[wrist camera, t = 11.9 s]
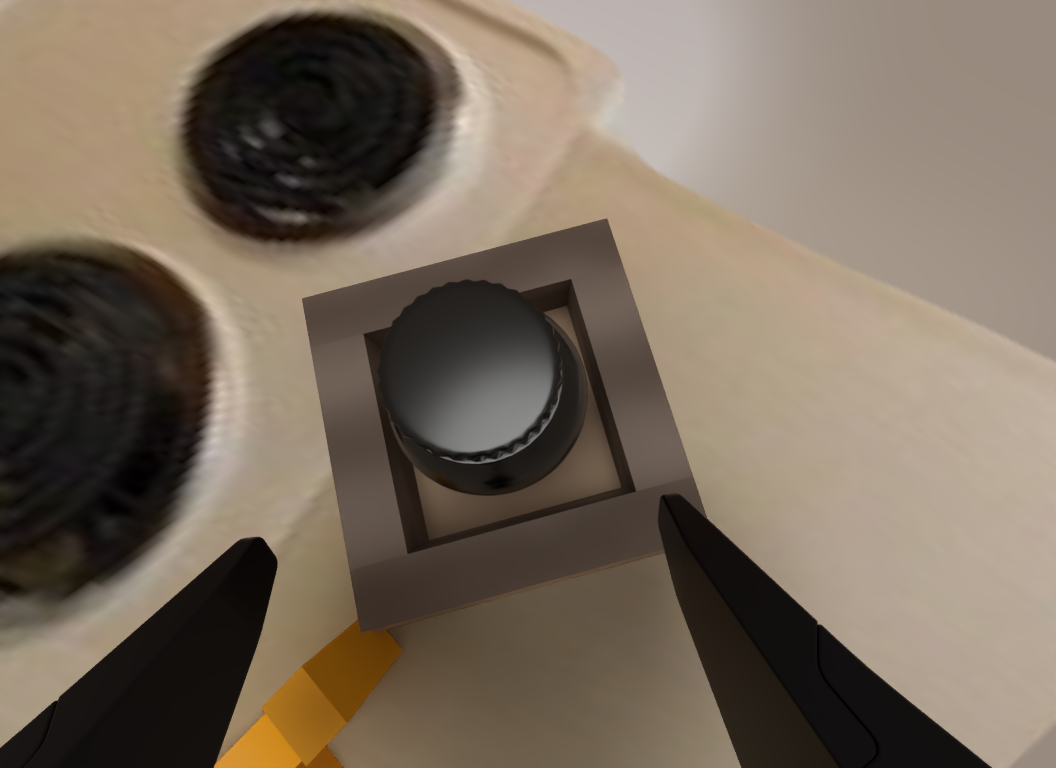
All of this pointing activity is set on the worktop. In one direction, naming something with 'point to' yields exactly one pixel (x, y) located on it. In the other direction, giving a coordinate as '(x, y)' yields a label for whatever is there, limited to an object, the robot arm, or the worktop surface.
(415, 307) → the supplement bottle
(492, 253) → the grey-brown square frame
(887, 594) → the worktop surface
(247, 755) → the orange notched part
